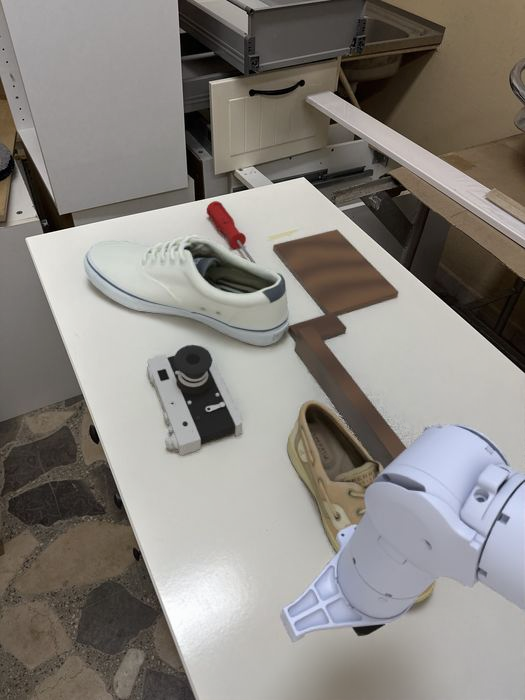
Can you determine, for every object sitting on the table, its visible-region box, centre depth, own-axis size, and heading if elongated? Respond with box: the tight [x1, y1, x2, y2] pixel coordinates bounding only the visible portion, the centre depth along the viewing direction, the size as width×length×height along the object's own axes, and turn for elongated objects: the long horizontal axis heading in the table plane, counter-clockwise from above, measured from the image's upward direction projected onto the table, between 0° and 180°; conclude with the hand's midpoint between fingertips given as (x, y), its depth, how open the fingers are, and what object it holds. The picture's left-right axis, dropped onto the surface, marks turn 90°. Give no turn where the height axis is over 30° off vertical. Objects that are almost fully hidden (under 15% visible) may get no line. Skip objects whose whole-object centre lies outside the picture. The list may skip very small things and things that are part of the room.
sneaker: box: [83, 234, 291, 347], centre depth 82 cm, size 13×35×12 cm, turn 70°
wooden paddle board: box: [272, 229, 407, 469], centre depth 79 cm, size 60×23×4 cm, turn 27°
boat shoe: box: [286, 399, 437, 604], centre depth 60 cm, size 9×25×8 cm, turn 31°
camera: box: [146, 344, 243, 456], centre depth 70 cm, size 15×7×10 cm
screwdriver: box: [206, 200, 256, 263], centre depth 95 cm, size 4×25×4 cm, turn 26°
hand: (348, 611), depth 45 cm, fingers closed
